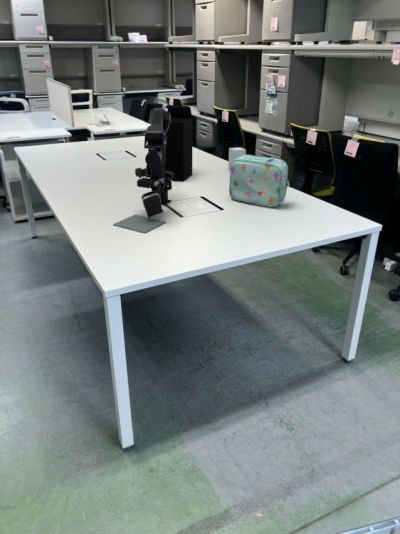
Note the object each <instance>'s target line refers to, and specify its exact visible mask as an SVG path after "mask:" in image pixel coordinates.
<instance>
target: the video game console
mask: <svg viewBox="0 0 400 534" xmlns="http://www.w3.org/2000/svg"><path fill="white" fill-rule="evenodd" d="M193 120H194V119H193V118H182V117H181V118H180V117H171V123H170V124H169V129H168V131H167V132H166V146H165V168H166V170H167V171H170V172H174V174H175V179H173V181H172V182H185V181H186V180H187V179H188V178H190V177H192V176H193Z"/></svg>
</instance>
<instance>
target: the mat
mask: <svg viewBox="0 0 400 534" xmlns="http://www.w3.org/2000/svg"><path fill="white" fill-rule="evenodd" d="M166 223H168V222H167V221H166V220H160V219H157V218H152V217H148V216H144V215H139V214H137V213H135V214H133V215H130V216H128V217H126V218H124V219H122V220H120V221H117V222H115V223H113V224H112V226H114V227H117V228H121V229H126V230H130V231H135V232H138V233H142V234H147V233H149V232H151V231H153V230H155V229H157V228H159V227H162V226H163V225H164V224H166Z"/></svg>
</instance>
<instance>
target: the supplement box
mask: <svg viewBox="0 0 400 534" xmlns="http://www.w3.org/2000/svg"><path fill="white" fill-rule="evenodd" d="M246 150H247V149H245V148H243V147H239V146H238V147H229V148H228V167H227V168H228V169H230V167H231V162H232V161H233V160H235V159H237V158H239V157H240V156H242V155H247V154H246V153H247V151H246ZM228 169H227V170H228Z"/></svg>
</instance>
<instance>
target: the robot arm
mask: <svg viewBox="0 0 400 534" xmlns="http://www.w3.org/2000/svg"><path fill="white" fill-rule="evenodd" d="M149 118H150V119H149V120H150V125H148V126H147V127H146V131H144V142H143V144H144V145H143V149H147V153H146V155H145V158H144V161H145V163H146V165H145V168H141V167H137V168H135V169H134V174H135V177H138V178H139V179H138V180H137V181H136V186H137V187H139V188H143V189H144V188H145V189H150V190H151V191H156V192H157V193H158V195H159V197H160V200H161V205H162V206H164V205H167V204H169V203H171V202H172V201H171V199H169V191H172V189H173V183H172V182H173V181H171V180H173V179H175V174H174V172H170V171H167V170H166V168H165V146H166V132H167V131H168V129H169V124H170V123H171V118H172V117H171V113H170V111H168V110H166V109H165V108H163V107H154V108H152V111H150V116H149Z"/></svg>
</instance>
